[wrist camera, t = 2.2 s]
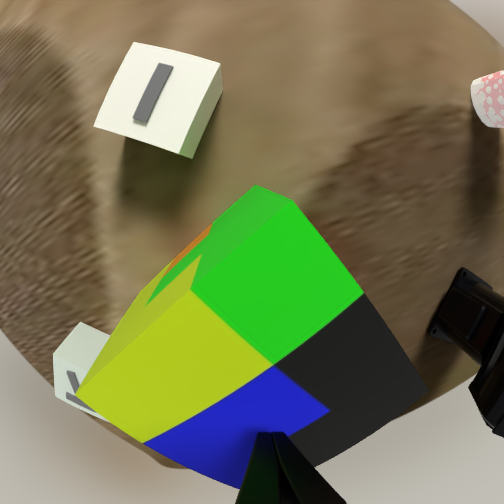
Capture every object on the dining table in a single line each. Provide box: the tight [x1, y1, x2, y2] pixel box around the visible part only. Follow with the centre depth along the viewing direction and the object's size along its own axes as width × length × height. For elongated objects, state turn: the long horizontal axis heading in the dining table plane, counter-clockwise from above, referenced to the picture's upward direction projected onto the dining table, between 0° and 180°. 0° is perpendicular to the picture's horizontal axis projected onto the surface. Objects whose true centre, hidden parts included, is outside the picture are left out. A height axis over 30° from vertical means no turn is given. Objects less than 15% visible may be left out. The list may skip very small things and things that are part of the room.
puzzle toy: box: [75, 185, 429, 489], centre depth 13 cm, size 10×10×10 cm
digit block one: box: [94, 42, 223, 159], centre depth 12 cm, size 4×4×5 cm
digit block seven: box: [53, 322, 110, 422], centre depth 16 cm, size 4×4×5 cm
